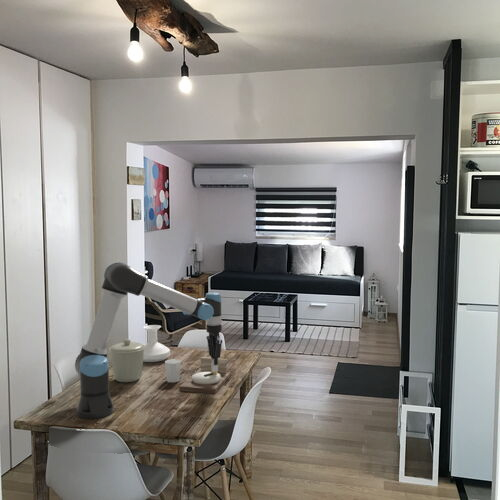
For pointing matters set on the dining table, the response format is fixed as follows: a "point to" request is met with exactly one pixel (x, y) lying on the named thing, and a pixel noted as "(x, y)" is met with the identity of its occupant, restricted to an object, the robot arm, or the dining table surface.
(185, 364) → the dining table surface
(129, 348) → the canister
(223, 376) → the stand
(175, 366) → the white cup
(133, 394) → the dining table surface
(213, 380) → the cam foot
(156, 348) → the white vase
